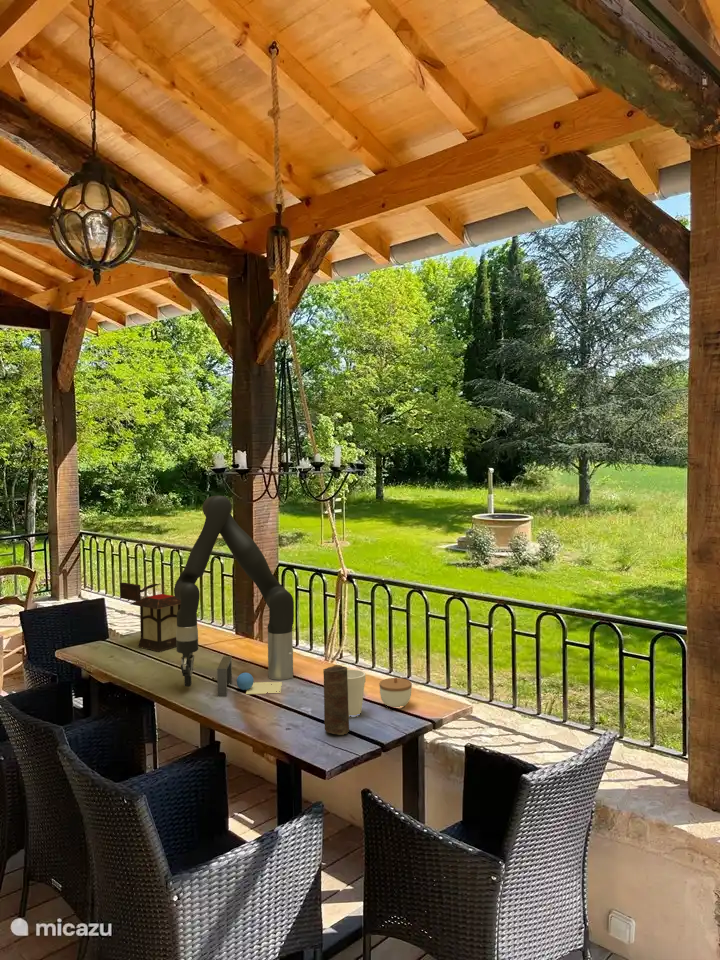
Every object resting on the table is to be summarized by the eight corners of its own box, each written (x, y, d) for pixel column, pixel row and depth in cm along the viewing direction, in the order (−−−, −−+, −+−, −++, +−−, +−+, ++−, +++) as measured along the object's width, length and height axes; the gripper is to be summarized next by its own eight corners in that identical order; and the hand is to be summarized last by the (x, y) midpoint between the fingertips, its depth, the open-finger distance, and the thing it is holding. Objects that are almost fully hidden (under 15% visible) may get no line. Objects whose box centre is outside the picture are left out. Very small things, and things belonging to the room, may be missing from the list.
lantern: (115, 652, 301) (114, 582, 300) (164, 638, 322) (162, 573, 321) (143, 659, 291) (142, 586, 289) (191, 644, 312) (190, 577, 311)
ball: (241, 688, 255) (257, 682, 255) (239, 695, 249) (255, 688, 249) (235, 674, 255) (250, 667, 255) (232, 680, 249) (248, 673, 249)
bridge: (231, 682, 260) (231, 656, 260) (226, 696, 245) (225, 668, 245) (223, 682, 260) (223, 656, 260) (217, 696, 245) (217, 668, 245)
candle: (329, 739, 208) (328, 671, 207) (320, 730, 214) (319, 665, 214) (353, 734, 211) (352, 668, 210) (343, 726, 218) (343, 661, 217)
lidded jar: (378, 700, 240) (378, 673, 239) (409, 699, 240) (409, 672, 240) (381, 712, 229) (380, 683, 229) (413, 711, 230) (413, 682, 229)
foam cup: (340, 720, 222) (339, 679, 222) (333, 710, 231) (333, 670, 231) (369, 717, 225) (369, 676, 224) (361, 707, 234) (361, 668, 233)
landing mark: (282, 682, 260) (282, 681, 260) (280, 693, 248) (280, 692, 248) (249, 683, 259) (249, 682, 259) (245, 694, 247) (245, 693, 247)
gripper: (194, 642, 245) (195, 692, 245) (201, 632, 258) (201, 679, 259) (172, 642, 244) (173, 692, 245) (180, 633, 258) (181, 680, 258)
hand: (188, 685), depth 252 cm, fingers closed
